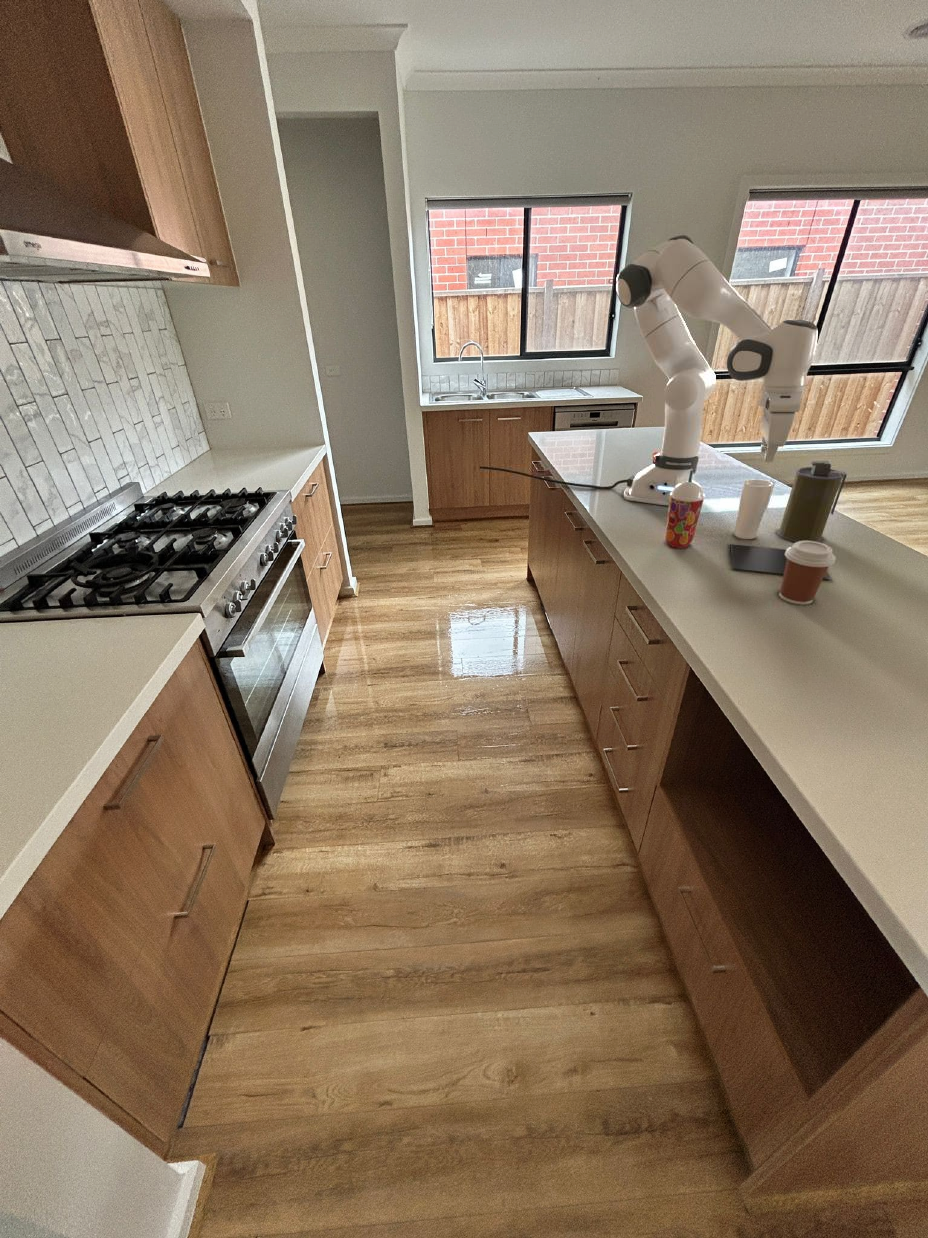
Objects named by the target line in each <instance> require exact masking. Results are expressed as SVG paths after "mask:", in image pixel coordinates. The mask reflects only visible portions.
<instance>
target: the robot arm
mask: <svg viewBox="0 0 928 1238" xmlns="http://www.w3.org/2000/svg"><path fill="white" fill-rule="evenodd" d="M615 292H616V296H617V299H618V300H619V302H620V304H622V305H623V306H624V307H625V308H628V309H633V310H634V316H635V319H636V322H637V326H638V328H639V331H640V333H641V336H642V338H643V340H644V342H645V344H646V346H647V348H648V351H649V353H650V355H651V357H652V359H653V361H654V363H655V365H656V366H657V367H659V369H660V370H661V371H662V372H663V374H664V375H665V376H666V378H667V379H668V383H667V384H666V386H665V388H664V392H663V398H664V430H663V436H662V444H661V451H658V450H654V451H653V453H652V464H650V465H648V466H647V467H646V468H644V469H642V470H640V471H639V472H637V474H636V475H631V476H629V477H628V478H627V479H621V480H618V481H616V482H615V483H613V484H612V485H609V486H599V485H593V484H584V483H583V484H582V483H575V482H569V481H563V480H558V479H552V478H547V477H542V476H538V475H535V474H531V473H526V472H522V471H517V470H513V469H512V470H511V469H508V468H501V467H494V466H482V465H479V467H478V468H479V469H482V470H490V471H491V470H492V471H499V472H506V473H511V474H515V475H516V474H517V475H519V476H525V477H529V478H532V479H535V480H536V479H537V480H540V481H545V482H550V483H555V484H561V485H566V486H572V487H580V488H589V489H590V488H591V489H596V490H611V489H614V488H616V487H617V486H618V485H620V484H625V483H626V487H625V489H624V491H623V498H624V499H625V500H626V501H632V502H638V503H646V504H652V505H659V506H660V505H661V506H668V507H669V500H670V493H671V492H672V491H673V489H674V488H675V487H676V486H677V485H678V484H679V483H681V482H684V481H689V476H690V470H693V474H692V480H691V481H694V482H695V475H696V473H697V470H698V467H699V461H700V454H699V451H700V446H701V439H702V435H703V431H704V427H703V419H704V418H703V415H704V406H705V401H707V400H708V399H709V398H710V397H711V395H712V394H713V393H714V391H715V387H716V384H717V381H716V374H715V372H714V371H713V370H712V368H711V367H710V365H709V364H708V363H709V362H708V361H707V360H706V359H705V357H704V355H703V353H702V352H701V351H700V349H699V348H698V346H697V345H696V343H695V341H694V340H693V338H692V336H691V333H690V331H689V329H688V327H687V325H686V323H685V321H684V319H683V317H682V314H681V313H680V311H681V312H682V313H684V315H686V316H687V317H689V318H691V319H696V320H697V319H698V320H701V321H702V320H703V321H709V322H714V323H717V324H719V325H722V326H724V327H726V328H727V329H728V330H729V331H730V332H731V333H732V334H733V336H735V337H736V338H737V340H738V342H737V343H735V344H734V345H733V346H732V348H731V349H730V351H729V353H728V354H727V359H726V368H727V373H728V375H729V376H730V378H732V379H733V380H736V381H740V382H750V381H757V380H762V381H763V383H762V388H761V392H760V397H759V401H758V406H759V407H761V408H762V416H761V420H760V424H759V430H760V433H761V434H762V437H761V445H760V452H761V453H762V454H763V453H765V454H764V458H763V459H764V462H765V463H773V462H774V458H775V456H776V453H777V451H778V449H779V448H781V447H784V446H785V444H786V443H787V441H788V439H789V436H790V433H791V430H792V428H793V425H794V421H795V419H796V413H799V412H800V411H801V408H802V404H803V403H802V401H803V399H804V395H805V394H804V393H805V390H806V386H807V375H808V372H809V370H810V368H811V366H812V365H813V360H814V357H815V352H816V347H817V342H818V333H819V332H818V327H817V325H816V324H815V323H813V322H811V321H808V320H803V319H795V318H794V319H784V320H782V321H781V322H779V323H778V324H777V325H775V326H774V327H772V326H770V324H769V323H768V322H767V321H766V320H765V319H763V318H762V316H761V315H760V314H759V313H758V312H757V311H756V310H755V309H754V308H753V307H752V306H751V305H750V303H748V302H747V301H746V300H745V299H744V298H743V296H741V295H740V294H739V293H738V292H737V290H736V289H735V288H734V287H733V286H732V285H731V284H730V283H729V282H728V280H727V279H726V278H725V276H723V274H722V273H721V272H720V270H719V269H718V268H717V267H716V266H715V264H714V263H713V262H712V261H711V260H710V258H709V257H708V256H707V255H706V254H705V253H704V252H703V251H702V250H701V249H700V248H699V247H698V246H696V245H695V243H694V242H693V240H692V239H691V238H690V237H689V236H687V235H684V234H682V235H676V236H674V237H671V238H669V239H668V240H667V241H664V242H663V243H660V244H658V245H656V246H654V247H652V248H651V249H649V250H647V252H646V253H644V254H642V255H641V256H640V257H638V258H637V259H635V261H633V262H632V263H629V264H627V265H626V266H625V267H624V268H622V269H621V271H619V273H618V274H617V276H616V279H615Z"/></svg>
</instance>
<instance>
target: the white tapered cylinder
mask: <svg viewBox="0 0 928 1238" xmlns="http://www.w3.org/2000/svg"><path fill="white" fill-rule="evenodd" d="M773 486H774V483H772V481H769V480H765V479H760V478H751V479H746V480H745V481H744V482H743V486H742V489H741V493H740V498H739V505H738V510H737V518H736V523H735V529H734V532H733V533H734V536H735V537H736V538H738V539H742V540H752V539H755V538H756V536H757V533H758V529H759V528H760V525H761V522H762V519H763V517H764V514H765V511H766V508H767V506H768V504H769V501H770V498H771V495H772V491H773Z"/></svg>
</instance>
